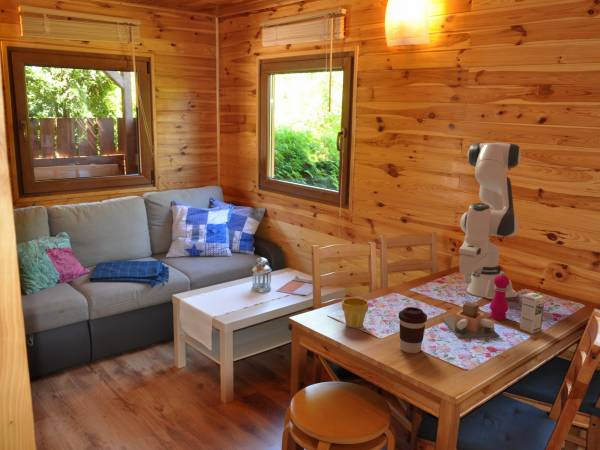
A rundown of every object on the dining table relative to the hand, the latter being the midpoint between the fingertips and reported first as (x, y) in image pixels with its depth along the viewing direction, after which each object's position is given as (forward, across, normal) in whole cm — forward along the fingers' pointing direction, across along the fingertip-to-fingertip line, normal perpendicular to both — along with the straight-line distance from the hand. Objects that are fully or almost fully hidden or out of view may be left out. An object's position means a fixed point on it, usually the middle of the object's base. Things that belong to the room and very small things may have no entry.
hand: (473, 280), depth 202 cm
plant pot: (+20, +28, -36) cm, 50 cm away
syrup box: (+20, -14, +19) cm, 31 cm away
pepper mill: (+20, -19, +5) cm, 28 cm away
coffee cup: (+20, +33, -8) cm, 39 cm away
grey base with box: (+20, 0, 0) cm, 20 cm away
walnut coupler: (+19, 0, 0) cm, 19 cm away
